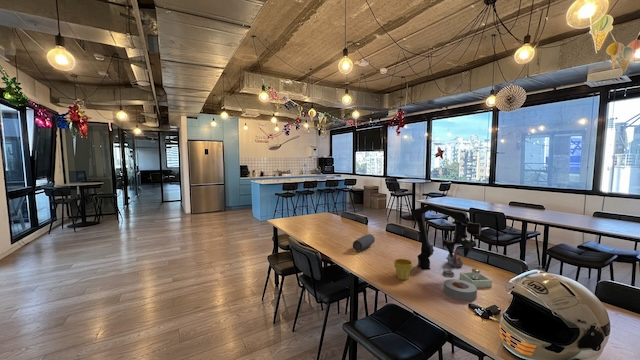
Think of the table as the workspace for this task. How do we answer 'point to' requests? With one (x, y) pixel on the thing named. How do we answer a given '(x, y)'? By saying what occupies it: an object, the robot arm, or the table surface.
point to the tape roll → (460, 290)
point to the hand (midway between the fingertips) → (458, 257)
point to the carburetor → (454, 260)
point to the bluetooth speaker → (363, 242)
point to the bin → (481, 283)
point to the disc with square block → (448, 273)
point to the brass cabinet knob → (475, 274)
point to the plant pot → (403, 268)
